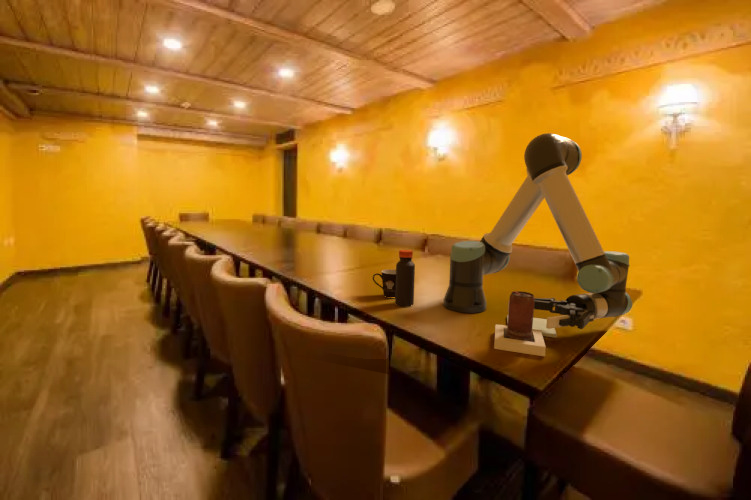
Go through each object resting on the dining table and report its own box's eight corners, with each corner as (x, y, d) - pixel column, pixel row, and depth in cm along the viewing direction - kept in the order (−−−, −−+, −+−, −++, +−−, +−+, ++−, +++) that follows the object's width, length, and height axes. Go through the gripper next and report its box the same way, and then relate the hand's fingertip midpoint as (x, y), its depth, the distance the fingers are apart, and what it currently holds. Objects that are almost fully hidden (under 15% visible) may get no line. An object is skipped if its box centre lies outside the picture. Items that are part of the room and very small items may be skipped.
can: (512, 337, 97) (516, 289, 95) (534, 344, 92) (539, 294, 90) (501, 342, 93) (504, 292, 91) (523, 350, 88) (528, 298, 86)
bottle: (411, 308, 122) (413, 252, 119) (393, 305, 124) (394, 251, 121) (415, 302, 128) (417, 250, 125) (397, 300, 130) (399, 248, 128)
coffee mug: (406, 296, 137) (407, 271, 136) (393, 300, 131) (393, 275, 129) (384, 290, 145) (385, 267, 143) (370, 294, 138) (371, 270, 137)
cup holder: (494, 348, 89) (494, 339, 89) (495, 332, 100) (495, 324, 100) (544, 356, 85) (545, 347, 85) (540, 338, 96) (540, 330, 96)
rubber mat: (507, 331, 102) (507, 327, 101) (507, 317, 114) (507, 314, 113) (556, 337, 97) (556, 334, 97) (550, 322, 109) (551, 319, 109)
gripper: (627, 335, 88) (566, 346, 80) (548, 306, 111) (494, 313, 104) (631, 307, 87) (569, 316, 79) (550, 284, 110) (496, 289, 102)
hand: (526, 314), depth 91 cm, fingers open, 13 cm apart
